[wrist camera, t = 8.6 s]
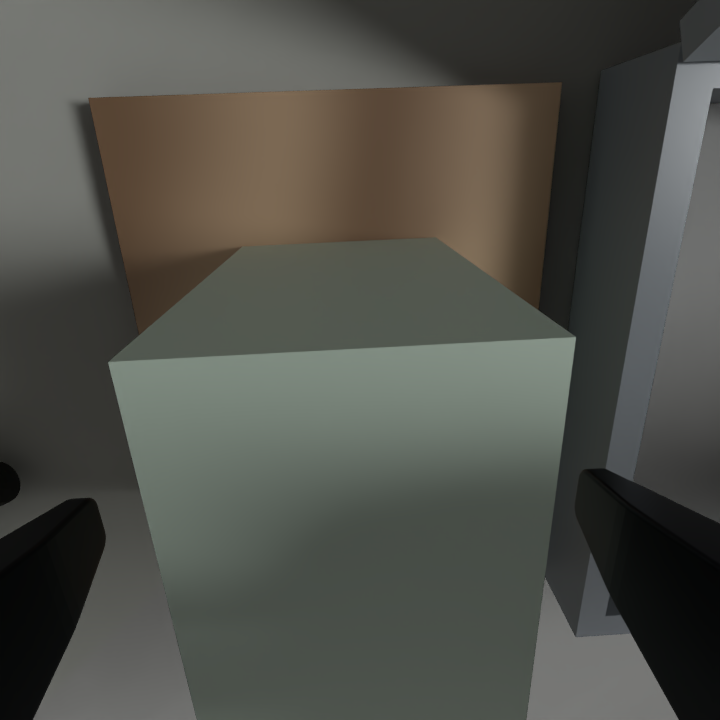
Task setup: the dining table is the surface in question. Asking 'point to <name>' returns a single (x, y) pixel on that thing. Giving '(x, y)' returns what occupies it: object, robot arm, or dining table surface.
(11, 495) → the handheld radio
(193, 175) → the board
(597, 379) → the equipment case
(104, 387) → the dining table surface
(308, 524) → the block
